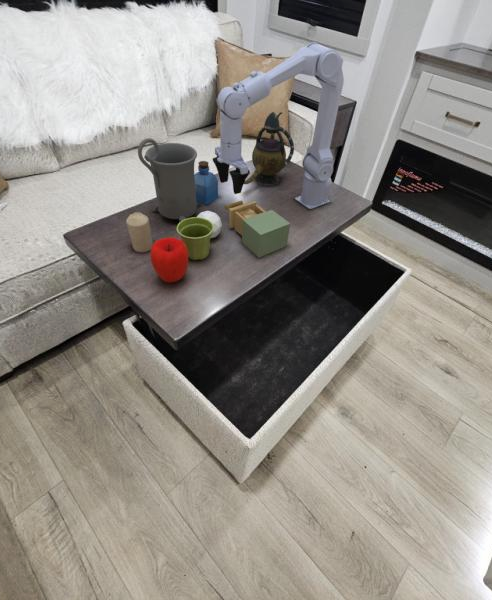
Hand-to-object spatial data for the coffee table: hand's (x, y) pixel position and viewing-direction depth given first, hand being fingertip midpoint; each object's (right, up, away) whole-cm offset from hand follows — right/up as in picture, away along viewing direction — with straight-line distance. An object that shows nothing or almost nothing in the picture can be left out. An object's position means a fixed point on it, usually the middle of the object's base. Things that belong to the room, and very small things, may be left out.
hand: (230, 187), depth 100 cm
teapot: (+10, +9, +23) cm, 26 cm away
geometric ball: (-6, -15, -1) cm, 16 cm away
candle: (-24, -19, -7) cm, 31 cm away
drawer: (+4, -11, +2) cm, 11 cm away
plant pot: (-9, -21, -7) cm, 24 cm away
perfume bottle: (-10, +1, +13) cm, 16 cm away
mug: (-17, -8, +5) cm, 19 cm away
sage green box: (+10, -17, -3) cm, 20 cm away
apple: (-13, -28, -15) cm, 35 cm away
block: (+6, -11, -2) cm, 13 cm away
